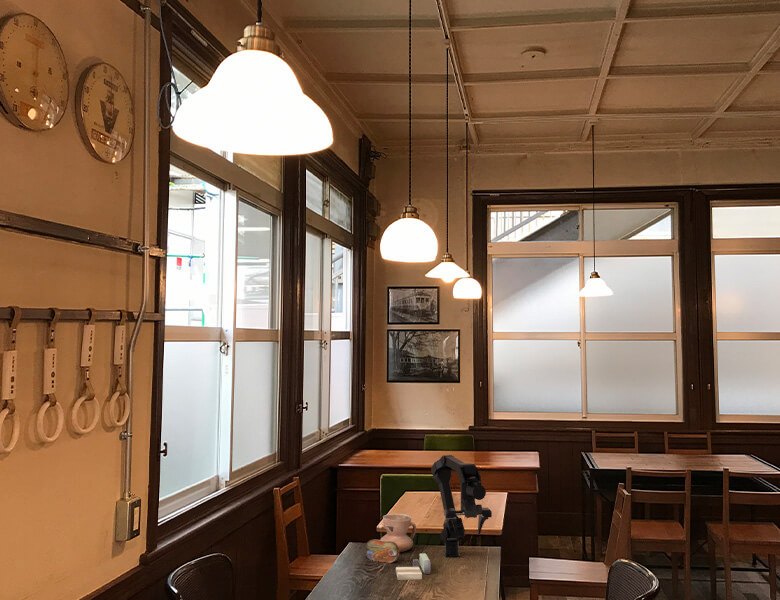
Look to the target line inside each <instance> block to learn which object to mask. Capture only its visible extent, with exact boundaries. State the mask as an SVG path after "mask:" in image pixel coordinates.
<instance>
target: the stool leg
mask: <svg viewBox="0 0 780 600" xmlns="http://www.w3.org/2000/svg"><path fill="white" fill-rule="evenodd" d="M419 567H420V569H421V570H422V571H423V573H424V574H426V575H429V574H431V569H432V568H431V567H432V566H431V560H430V559H429V557H428V555H427V554H426V553H419Z"/></svg>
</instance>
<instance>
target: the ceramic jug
mask: <svg viewBox="0 0 780 600" xmlns="http://www.w3.org/2000/svg"><path fill="white" fill-rule="evenodd" d="M382 520H383V521H382V522H383V524H378V528H379V529H384V530H385V532H386V534H385V535H384V536H382V537H381V538H380V540H385V541H392V542H394V543H396V544H397V545H398V547H399V553H403V552H407V551H408V550H410V549H412V547H413V546H414V541H413V539H414V537H415V535H416V533H417V525H416V523H415V522H413V521H412V516H410V515H408V514H404V513H388V514H385V515H383V516H382ZM410 527H412V531H411V533H410V534H411V535H410V536H409V535H408V534H407V533H408V530H409V528H410Z"/></svg>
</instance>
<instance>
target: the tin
mask: <svg viewBox="0 0 780 600" xmlns="http://www.w3.org/2000/svg"><path fill="white" fill-rule="evenodd" d="M364 552H365V556H366V557H367V559H368V560H370V561H372V560H373V561H372V562H378V561H379V562H378V563H384V562H386V564H392V563H394V562H396V561H398V558H399V557H400V552H399V547H398V545H397V544H396V543H394V542H392V541H385V540H381V539H375V538H374V539H370V540H368V541H367V542H366V544H365V548H364Z"/></svg>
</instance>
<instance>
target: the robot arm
mask: <svg viewBox="0 0 780 600" xmlns="http://www.w3.org/2000/svg"><path fill="white" fill-rule="evenodd" d="M453 471H454V472H456V475H457V477H459V479H458V483H460V496H459V497H460V510H456V506H455V502H454V498H453V497H454V496H453V492H452V488H451V483H450V482H451V479H452V472H453ZM430 472H431V475H432V478H433V480H434V482H436V484H437V485H438V489H439V492H440V497H441V502H442V508H443V516H444V517H445V519H444V521H443V524H442V525H443V526H442V527H443V528H442V530H441V533H440V534H439V536H440V540H441V541H442V542H444V551H443V552H442V553H443V555H444V557H445V558H456V557H458V558H460V557H462V555H461V554H460V551H459V550H460V547H459V545H460V544H459V543H460V541H464V537H465V533H466V531H465V526H464V522H463V519H462V517H459V516H464V518H466V519H470V518H473V519H476V518H477V517H478V519H477V520H478V523H477V533H478V535H480V534H481V532H482V528H483V526H484V523H485V522H486V521H487V520H490V518H492V517H493V512H492V510H491V509H490V508H488V507H483V506H482V504H477V503H476V500H478V501H481V500H483V499H485V497H486V496H487V495H486V494H487V491H486V488H485V486H484V485H482V476H481V475H480V472H479V470H478V467H477V465H476V463H471V462H464V461H462V460H461V459H459V458H456V457H454V455H452V454H449V455H448V454H447V455H442V456H441V457H440V458H439V459H438V460H436V461H435V462H433V464H432V466H431V468H430Z"/></svg>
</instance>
